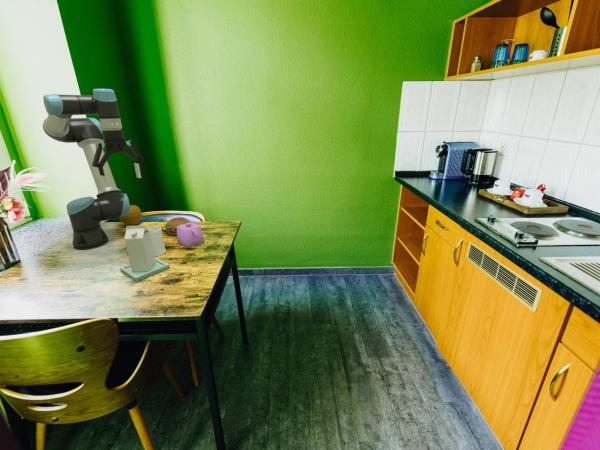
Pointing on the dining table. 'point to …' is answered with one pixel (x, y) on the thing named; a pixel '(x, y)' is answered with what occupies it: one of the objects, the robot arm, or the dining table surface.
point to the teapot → (189, 234)
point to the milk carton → (139, 248)
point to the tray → (142, 275)
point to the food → (175, 225)
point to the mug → (157, 240)
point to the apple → (132, 216)
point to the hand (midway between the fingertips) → (123, 180)
